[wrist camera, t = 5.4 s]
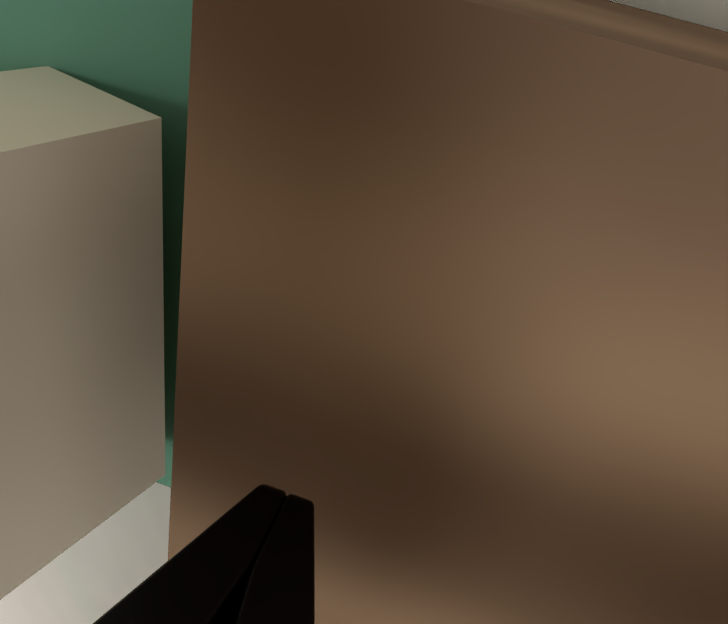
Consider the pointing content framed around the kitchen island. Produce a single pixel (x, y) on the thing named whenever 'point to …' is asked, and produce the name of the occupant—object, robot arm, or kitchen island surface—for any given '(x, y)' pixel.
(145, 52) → the mat
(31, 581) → the kitchen island surface
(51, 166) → the block
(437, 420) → the deck
